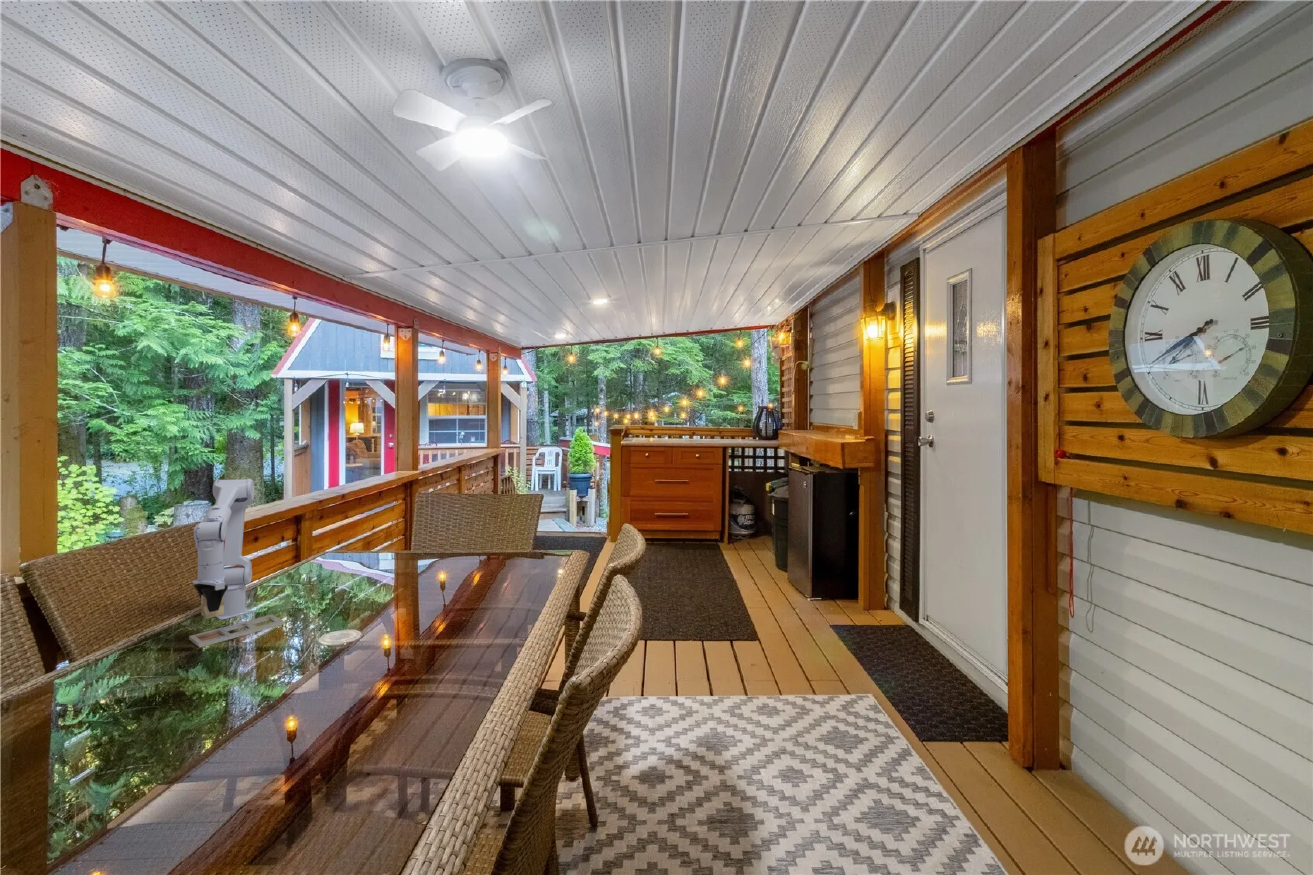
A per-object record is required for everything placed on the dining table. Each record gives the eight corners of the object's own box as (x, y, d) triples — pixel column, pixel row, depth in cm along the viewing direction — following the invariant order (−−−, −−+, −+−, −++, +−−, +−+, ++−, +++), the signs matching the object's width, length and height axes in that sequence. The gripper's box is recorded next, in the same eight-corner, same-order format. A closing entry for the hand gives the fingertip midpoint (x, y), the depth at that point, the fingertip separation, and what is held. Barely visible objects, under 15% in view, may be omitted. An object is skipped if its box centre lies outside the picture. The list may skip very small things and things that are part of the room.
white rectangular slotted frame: (189, 639, 149) (189, 636, 149) (272, 617, 166) (272, 614, 166) (199, 647, 145) (199, 644, 144) (283, 624, 162) (283, 621, 162)
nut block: (201, 615, 149) (201, 594, 149) (218, 611, 153) (218, 591, 153) (206, 618, 147) (206, 597, 147) (223, 614, 151) (223, 594, 150)
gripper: (184, 561, 150) (184, 607, 150) (202, 570, 142) (202, 619, 142) (214, 556, 156) (214, 600, 156) (233, 565, 148) (233, 611, 148)
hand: (210, 609), depth 150 cm, fingers closed on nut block, 4 cm apart
